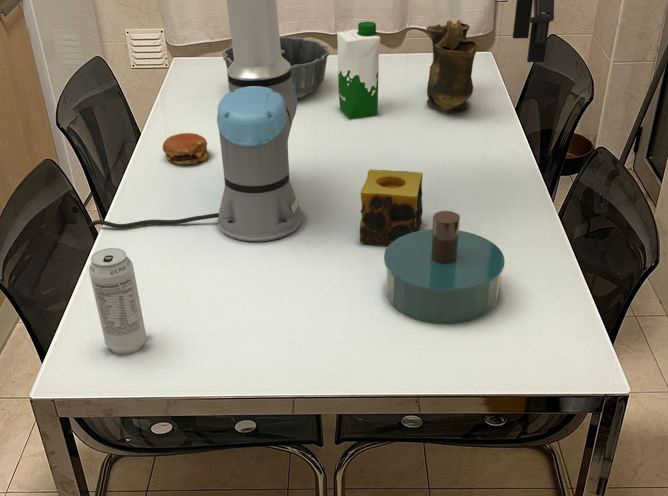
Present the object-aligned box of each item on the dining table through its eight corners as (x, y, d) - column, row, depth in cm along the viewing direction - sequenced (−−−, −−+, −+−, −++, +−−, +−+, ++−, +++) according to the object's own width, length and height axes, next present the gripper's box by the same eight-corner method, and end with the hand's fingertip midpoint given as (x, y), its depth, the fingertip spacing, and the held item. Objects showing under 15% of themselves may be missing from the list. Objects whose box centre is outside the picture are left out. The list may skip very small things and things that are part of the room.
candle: (416, 249, 145) (418, 197, 139) (359, 245, 147) (358, 193, 141) (422, 222, 153) (425, 171, 147) (368, 218, 155) (368, 168, 149)
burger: (173, 147, 183) (170, 127, 180) (214, 149, 182) (211, 129, 179) (158, 166, 175) (155, 145, 173) (201, 168, 174) (199, 147, 171)
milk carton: (382, 116, 196) (383, 28, 184) (346, 121, 194) (344, 32, 182) (370, 103, 202) (370, 18, 191) (334, 108, 200) (332, 22, 189)
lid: (386, 296, 123) (387, 248, 118) (381, 235, 138) (382, 190, 133) (513, 295, 123) (519, 246, 118) (494, 234, 138) (499, 188, 133)
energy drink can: (149, 331, 127) (133, 244, 118) (144, 355, 122) (127, 266, 113) (109, 333, 126) (90, 246, 118) (103, 357, 122) (82, 268, 113)
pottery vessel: (478, 126, 189) (486, 36, 178) (430, 127, 190) (435, 37, 178) (464, 88, 210) (470, 5, 198) (421, 89, 210) (424, 6, 198)
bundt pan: (287, 67, 226) (285, 29, 220) (351, 91, 210) (351, 50, 204) (206, 90, 213) (201, 50, 207) (267, 117, 196) (264, 75, 191)
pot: (389, 325, 127) (389, 291, 123) (384, 265, 141) (384, 234, 137) (505, 323, 126) (509, 290, 123) (488, 264, 140) (492, 232, 137)
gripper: (587, -72, 123) (565, 71, 136) (550, -99, 143) (534, 28, 156) (536, -71, 123) (519, 72, 136) (507, -99, 143) (494, 29, 156)
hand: (527, 49), depth 146 cm, fingers open, 13 cm apart
